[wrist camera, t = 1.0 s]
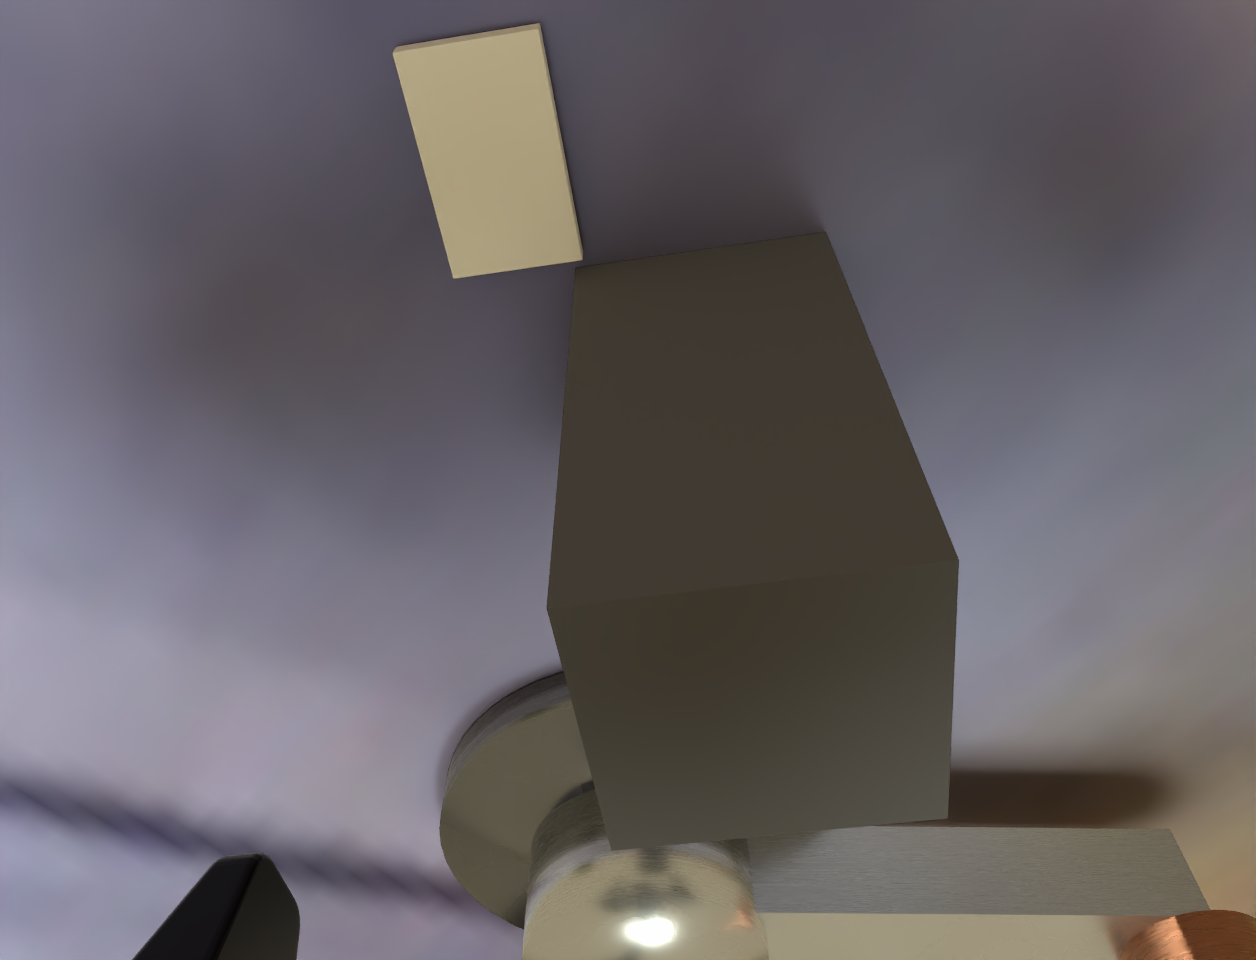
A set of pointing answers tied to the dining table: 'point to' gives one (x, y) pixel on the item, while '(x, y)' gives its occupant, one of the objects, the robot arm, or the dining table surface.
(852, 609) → the dark gray rectangular block
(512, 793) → the hub plate
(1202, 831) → the dining table surface
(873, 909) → the crank
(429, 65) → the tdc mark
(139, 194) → the dining table surface
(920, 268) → the dining table surface
